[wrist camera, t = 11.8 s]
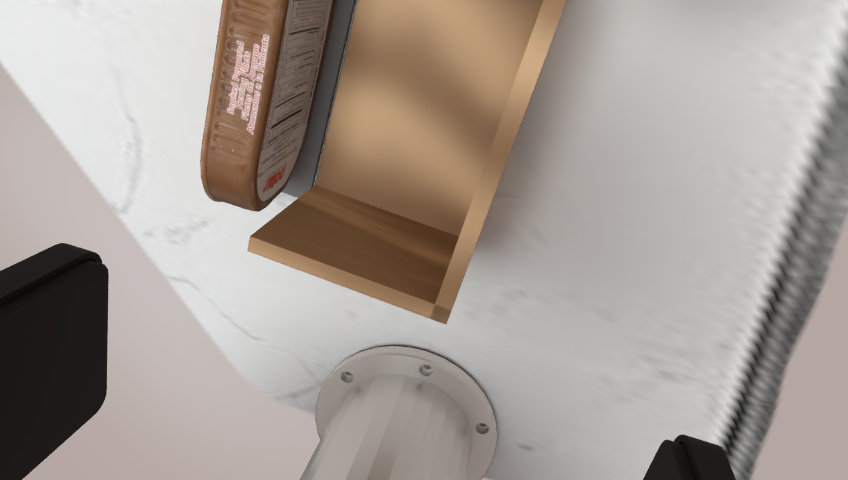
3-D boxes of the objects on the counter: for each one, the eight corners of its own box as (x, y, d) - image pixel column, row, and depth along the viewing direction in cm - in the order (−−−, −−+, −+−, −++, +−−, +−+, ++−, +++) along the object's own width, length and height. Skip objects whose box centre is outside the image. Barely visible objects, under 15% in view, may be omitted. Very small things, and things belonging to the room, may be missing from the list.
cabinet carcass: (470, 249, 36) (440, 340, 26) (315, 194, 36) (233, 263, 27) (575, -36, 29) (587, -52, 19) (384, -98, 30) (305, -143, 20)
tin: (307, -99, 30) (224, -132, 22) (365, -80, 30) (301, -106, 22) (257, 173, 36) (178, 220, 29) (305, 190, 36) (238, 242, 28)
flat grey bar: (309, 199, 36) (307, 201, 36) (243, 175, 37) (241, 177, 36) (379, -106, 29) (378, -107, 29) (297, -133, 30) (295, -134, 29)
